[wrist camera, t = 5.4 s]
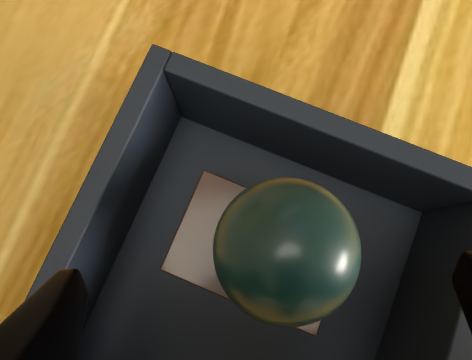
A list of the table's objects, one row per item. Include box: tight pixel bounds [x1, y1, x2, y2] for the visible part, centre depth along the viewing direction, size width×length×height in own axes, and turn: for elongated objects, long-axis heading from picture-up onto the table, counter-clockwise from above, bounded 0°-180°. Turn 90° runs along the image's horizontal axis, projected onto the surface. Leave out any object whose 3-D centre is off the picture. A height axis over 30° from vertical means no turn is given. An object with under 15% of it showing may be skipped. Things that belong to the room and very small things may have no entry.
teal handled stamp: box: [160, 170, 361, 337], centre depth 11 cm, size 6×4×12 cm, turn 68°
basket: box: [25, 44, 472, 360], centre depth 14 cm, size 14×14×5 cm
